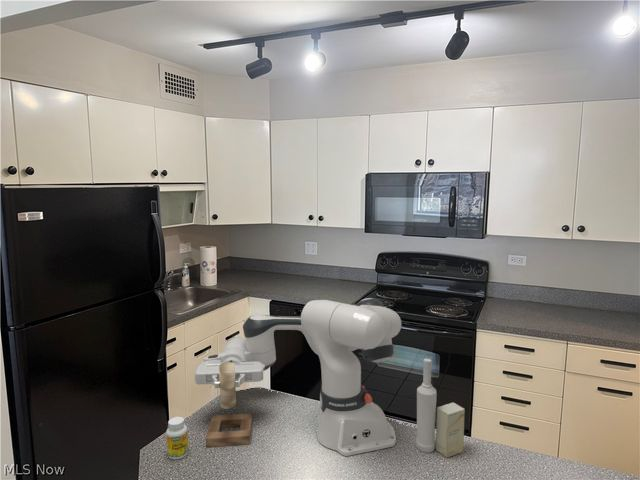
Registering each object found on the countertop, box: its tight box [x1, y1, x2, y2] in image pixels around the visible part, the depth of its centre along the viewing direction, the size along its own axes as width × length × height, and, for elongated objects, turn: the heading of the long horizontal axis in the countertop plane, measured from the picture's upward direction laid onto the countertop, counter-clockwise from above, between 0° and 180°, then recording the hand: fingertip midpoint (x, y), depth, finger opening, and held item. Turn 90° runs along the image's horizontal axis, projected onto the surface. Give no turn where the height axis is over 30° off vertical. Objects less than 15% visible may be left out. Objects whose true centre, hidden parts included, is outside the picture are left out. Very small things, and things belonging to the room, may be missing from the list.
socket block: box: [205, 412, 253, 448], centre depth 122 cm, size 12×12×2 cm
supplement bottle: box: [165, 416, 190, 460], centre depth 112 cm, size 5×5×10 cm
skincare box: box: [435, 402, 466, 458], centre depth 112 cm, size 6×4×12 cm
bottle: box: [415, 358, 438, 454], centre depth 113 cm, size 5×5×25 cm
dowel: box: [219, 362, 237, 410], centre depth 121 cm, size 4×4×12 cm
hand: (227, 385), depth 120 cm, fingers closed on dowel, 4 cm apart
